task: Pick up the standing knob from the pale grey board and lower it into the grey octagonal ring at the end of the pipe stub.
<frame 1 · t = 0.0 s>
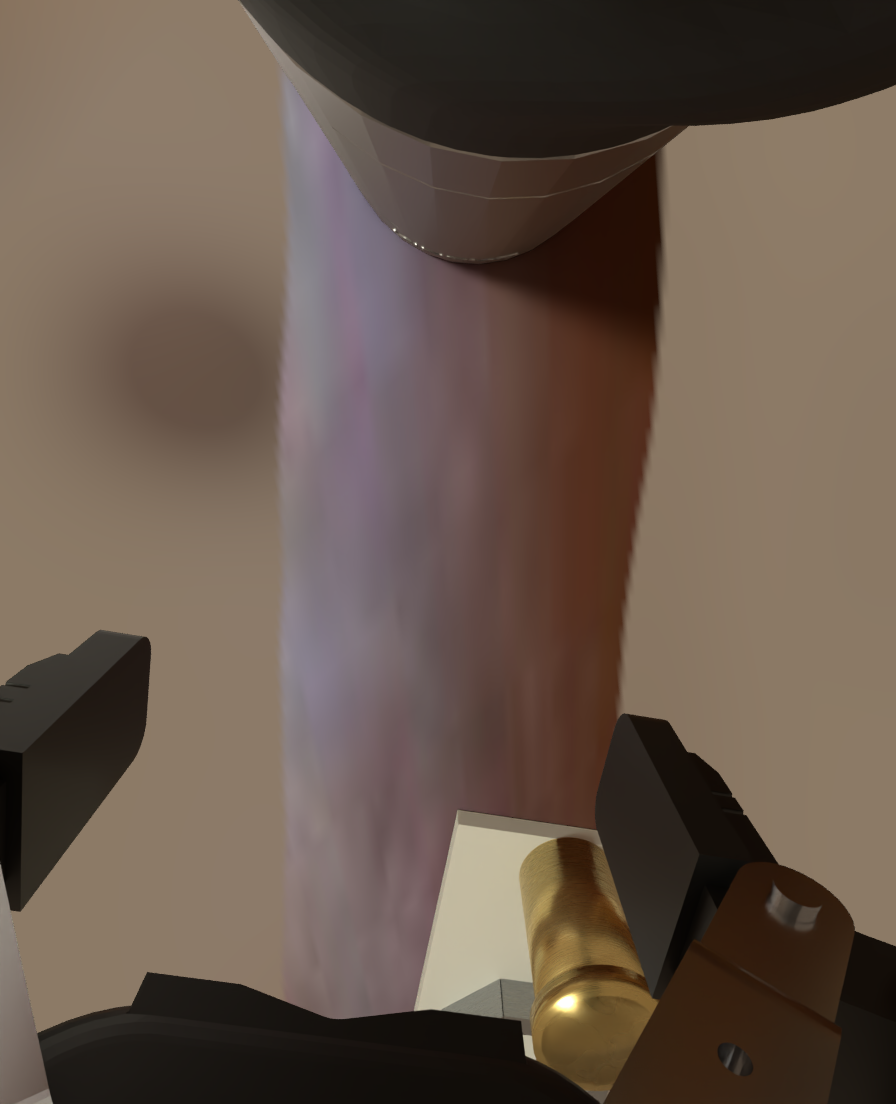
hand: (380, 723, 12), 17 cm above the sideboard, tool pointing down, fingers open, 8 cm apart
knob: (565, 875, 33), point 1 cm above the sideboard, touching board
board: (527, 984, 36), on the sideboard
grey octagonal ring: (515, 1026, 37), resting on board
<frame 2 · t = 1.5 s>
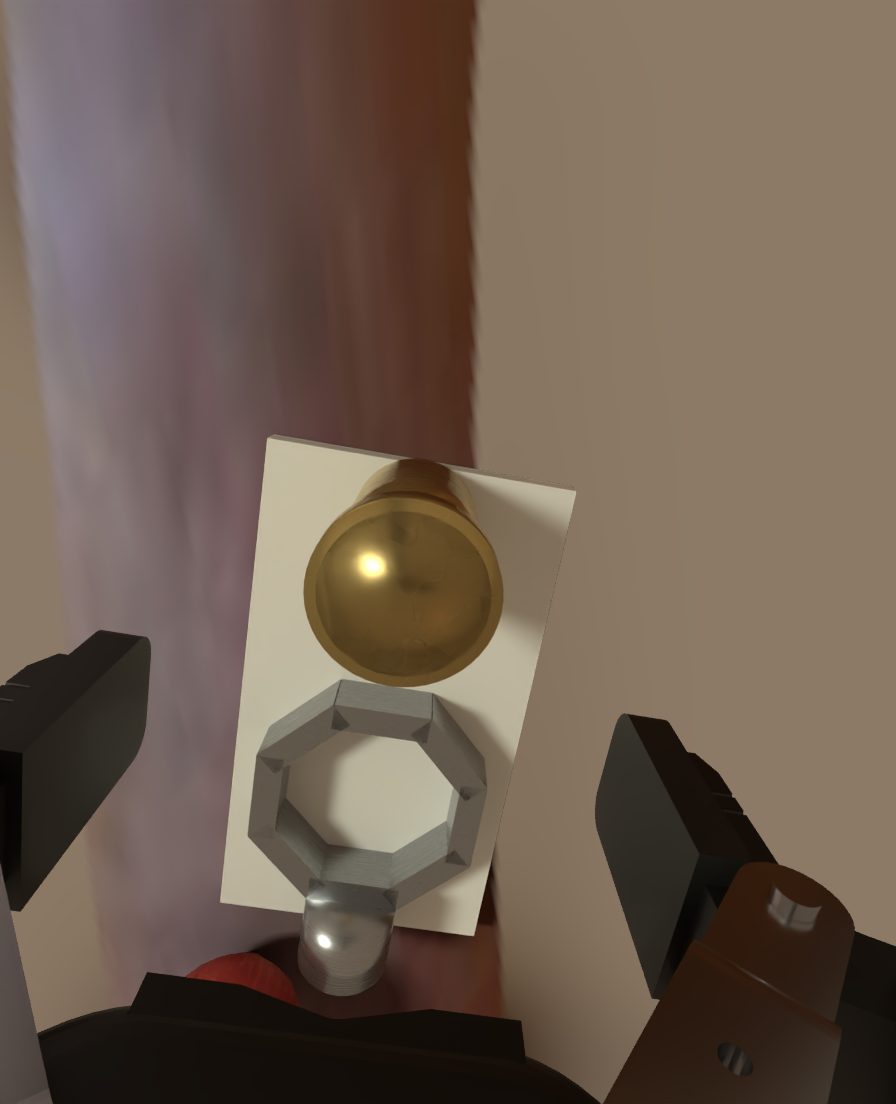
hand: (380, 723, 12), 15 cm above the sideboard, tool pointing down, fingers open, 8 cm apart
onion: (253, 956, 32), on the sideboard
knob: (415, 519, 25), point 1 cm above the sideboard, touching board
board: (384, 702, 28), on the sideboard
grey octagonal ring: (373, 766, 29), resting on board
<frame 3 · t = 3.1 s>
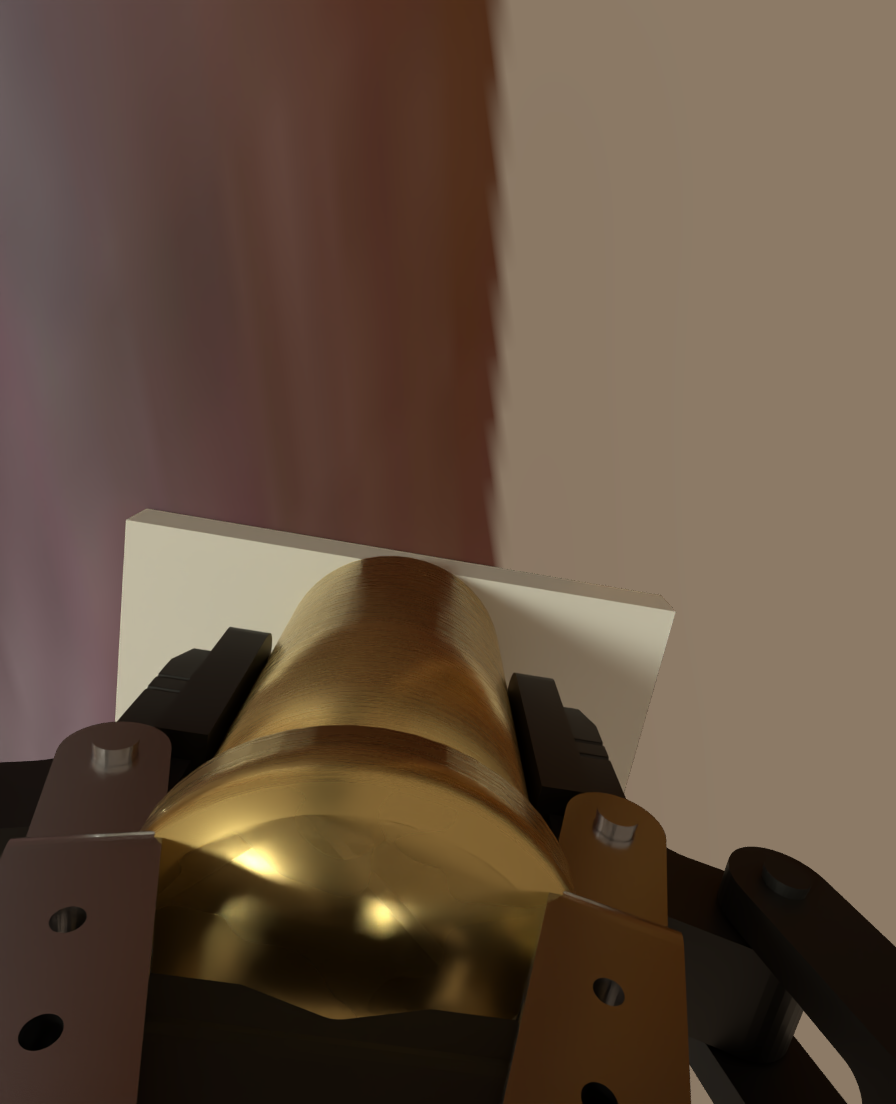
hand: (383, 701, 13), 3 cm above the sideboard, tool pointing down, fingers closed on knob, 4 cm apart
knob: (392, 658, 14), point 1 cm above the sideboard, touching board, gripper
board: (345, 931, 18), on the sideboard
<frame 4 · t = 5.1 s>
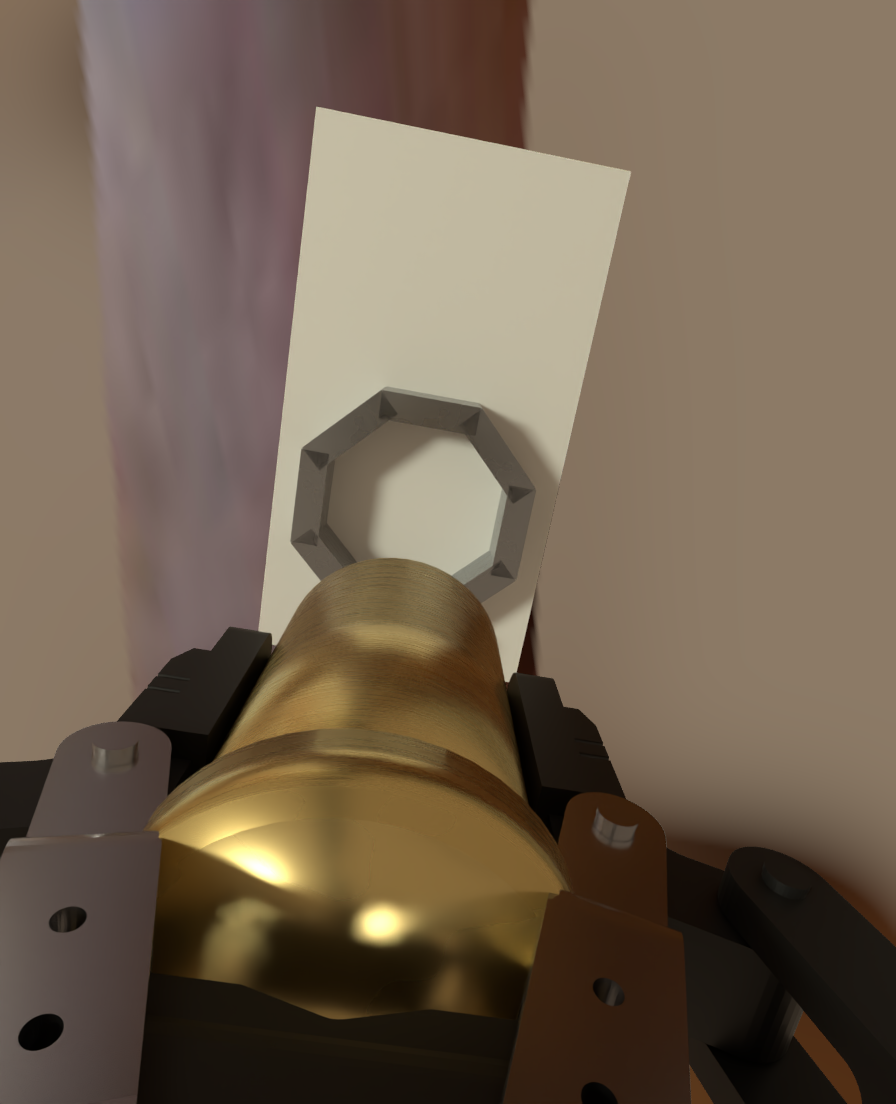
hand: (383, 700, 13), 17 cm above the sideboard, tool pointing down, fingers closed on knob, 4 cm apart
knob: (391, 660, 14), point 15 cm above the sideboard, touching gripper
board: (427, 425, 28), on the sideboard
grey octagonal ring: (414, 498, 29), resting on board
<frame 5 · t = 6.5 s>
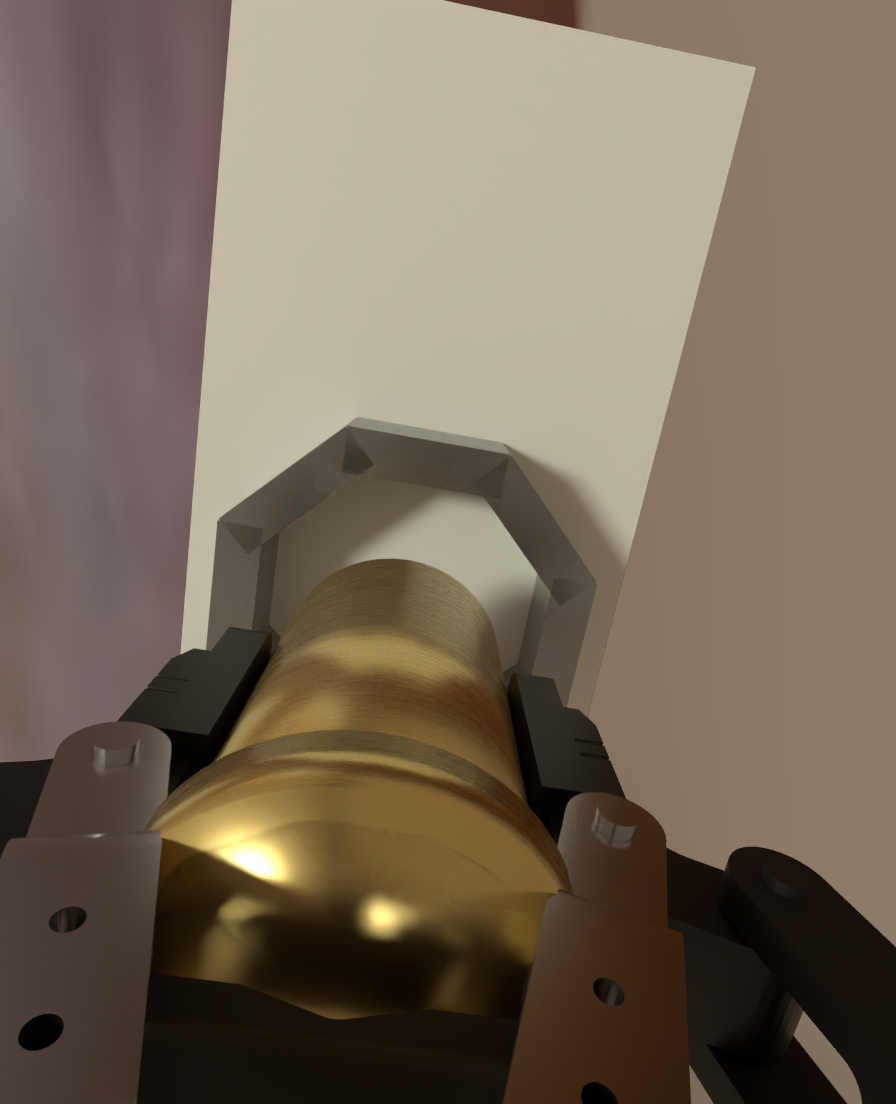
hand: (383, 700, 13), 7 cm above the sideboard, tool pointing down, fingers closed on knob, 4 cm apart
knob: (391, 660, 14), point 5 cm above the sideboard, touching gripper
board: (422, 475, 18), on the sideboard
grey octagonal ring: (404, 583, 19), resting on board
when the fingers open (4 cm above the sideboard, at t = 7.3 s): knob drops 1 cm, resting on board.
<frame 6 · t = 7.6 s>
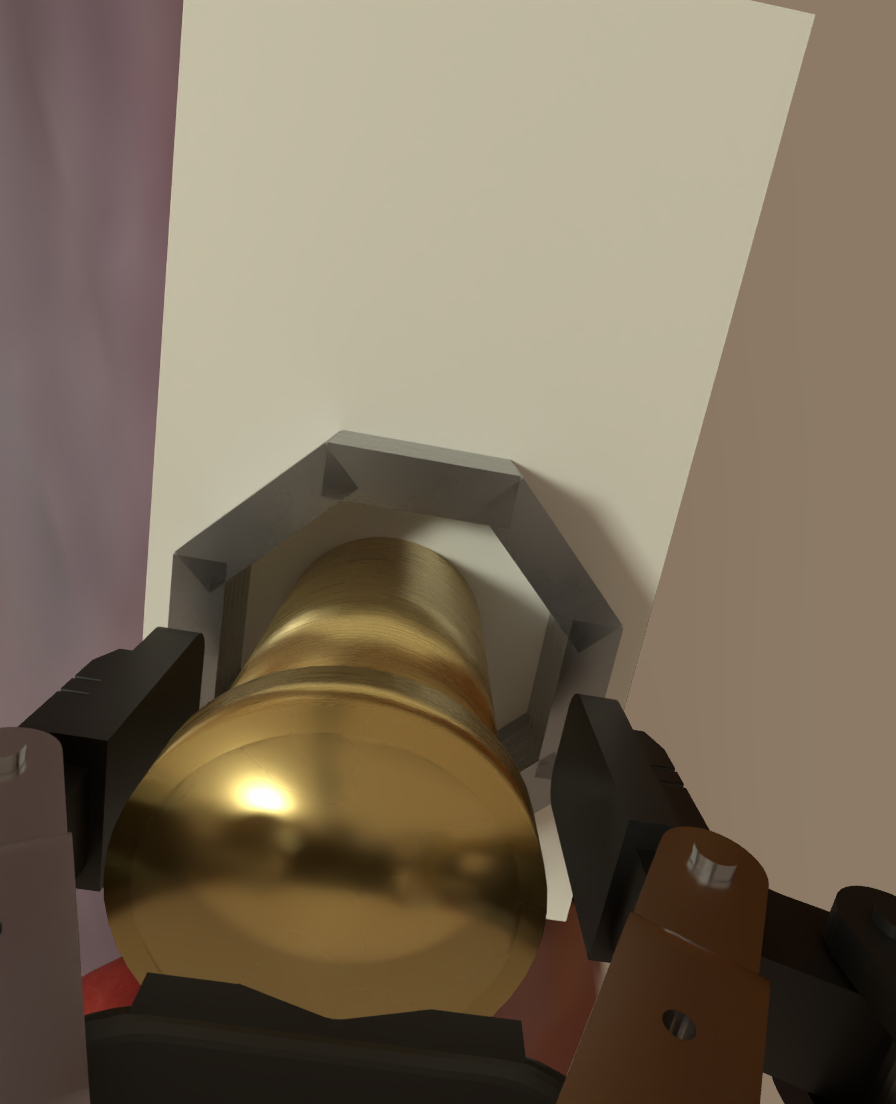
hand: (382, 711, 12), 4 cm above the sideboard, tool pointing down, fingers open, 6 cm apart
onion: (194, 956, 20), on the sideboard
knob: (382, 632, 16), point 1 cm above the sideboard, touching board
board: (418, 496, 16), on the sideboard
grey octagonal ring: (397, 618, 17), resting on board
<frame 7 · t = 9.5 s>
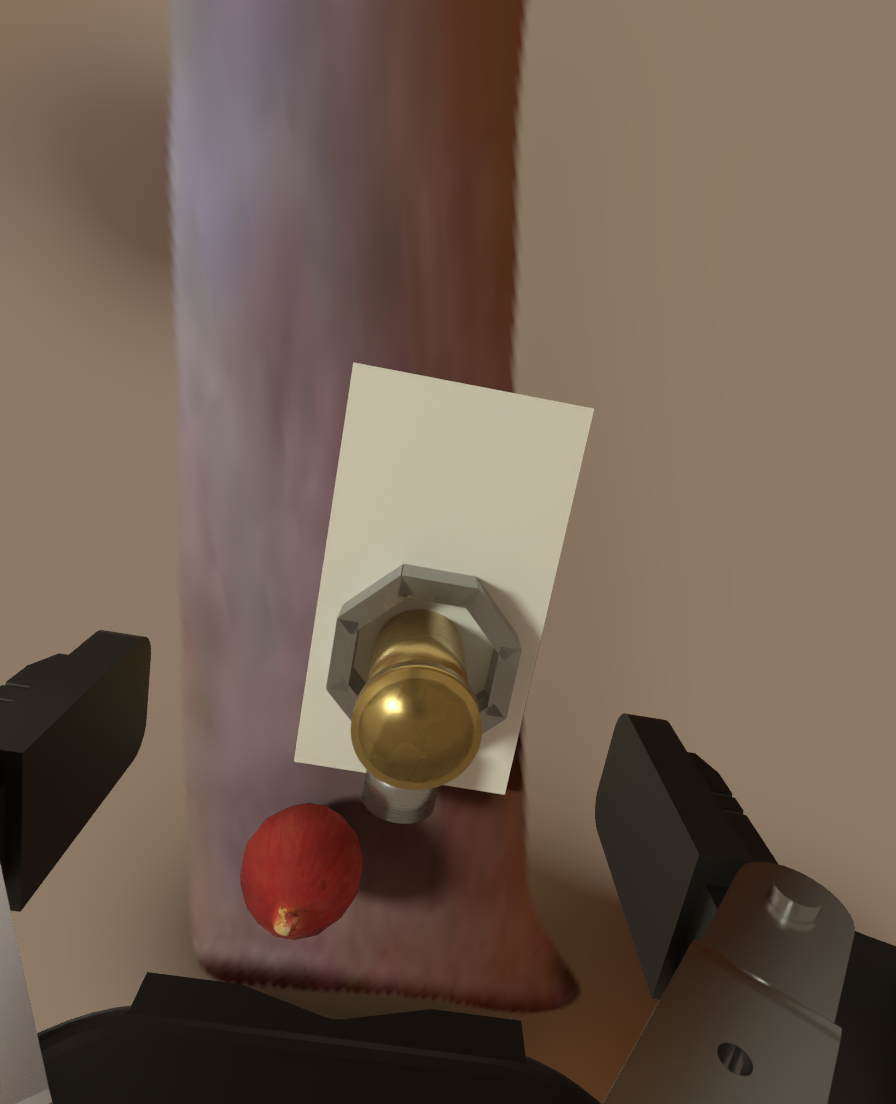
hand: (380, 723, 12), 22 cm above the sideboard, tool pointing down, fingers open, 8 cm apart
onion: (316, 819, 38), on the sideboard
knob: (418, 651, 35), point 1 cm above the sideboard, touching board
board: (435, 589, 35), on the sideboard
grey octagonal ring: (424, 645, 36), resting on board
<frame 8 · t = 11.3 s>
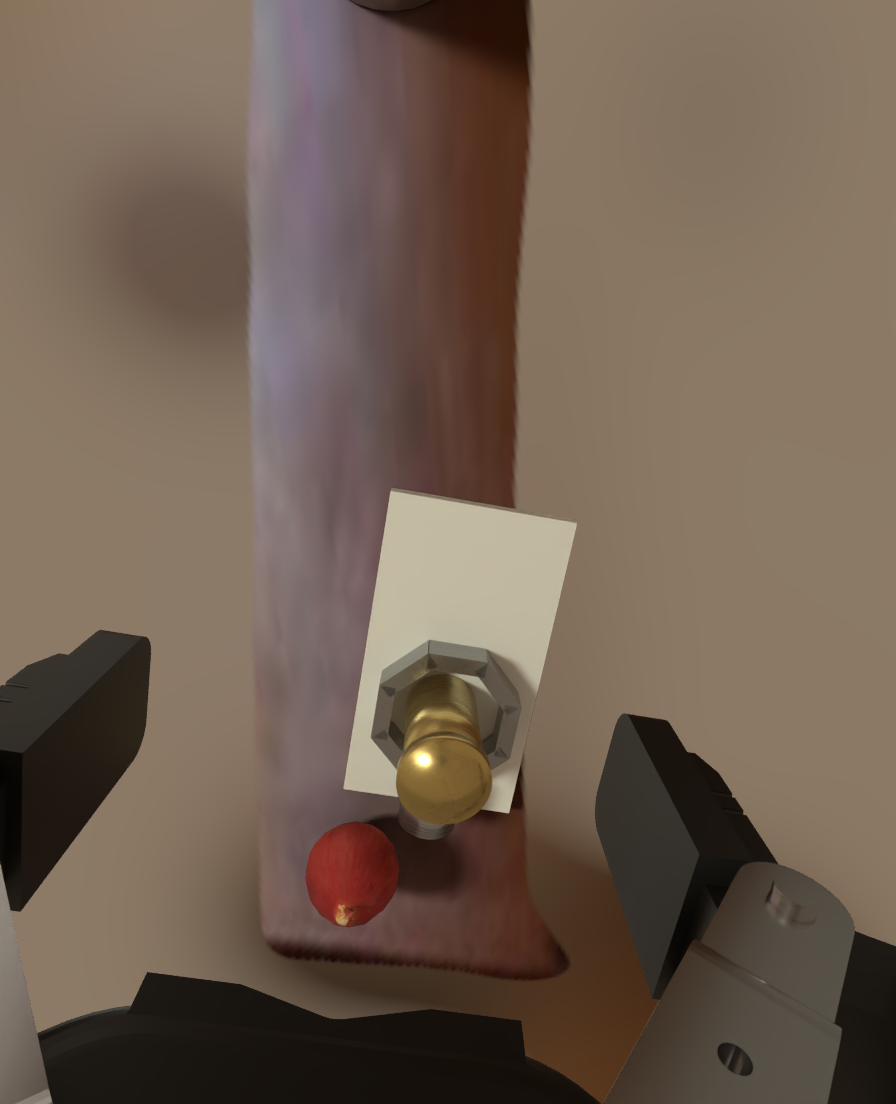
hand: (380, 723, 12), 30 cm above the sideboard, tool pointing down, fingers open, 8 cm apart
onion: (359, 831, 48), on the sideboard
knob: (441, 705, 44), point 1 cm above the sideboard, touching board
board: (453, 656, 44), on the sideboard
grey octagonal ring: (445, 698, 45), resting on board
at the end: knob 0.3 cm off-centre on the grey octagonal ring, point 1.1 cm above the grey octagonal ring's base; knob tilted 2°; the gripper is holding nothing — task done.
